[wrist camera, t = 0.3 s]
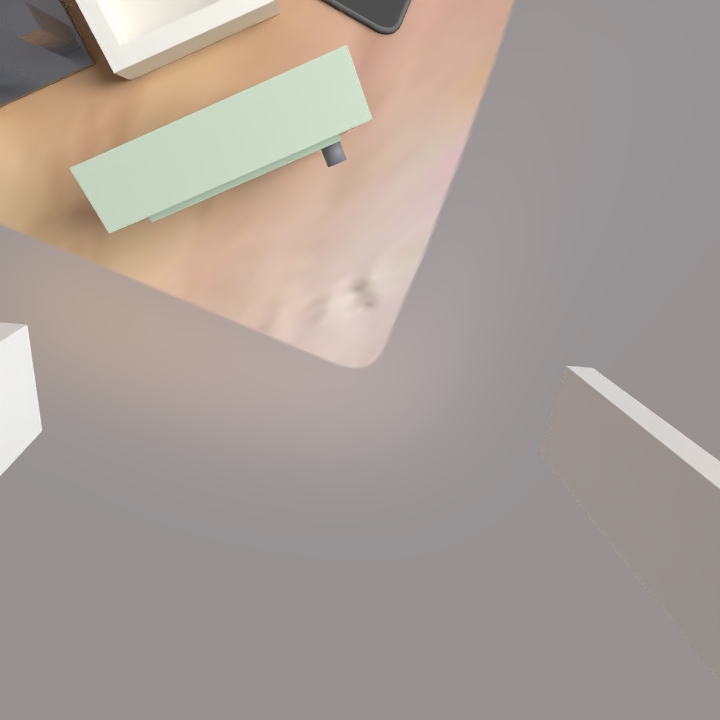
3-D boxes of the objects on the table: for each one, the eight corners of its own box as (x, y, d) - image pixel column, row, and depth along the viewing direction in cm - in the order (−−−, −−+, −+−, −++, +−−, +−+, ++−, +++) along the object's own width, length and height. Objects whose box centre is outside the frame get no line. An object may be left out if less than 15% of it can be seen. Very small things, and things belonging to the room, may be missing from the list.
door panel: (181, 224, 34) (123, 257, 23) (148, 163, 32) (69, 168, 21) (354, 149, 33) (381, 146, 22) (330, 82, 31) (346, 44, 20)
